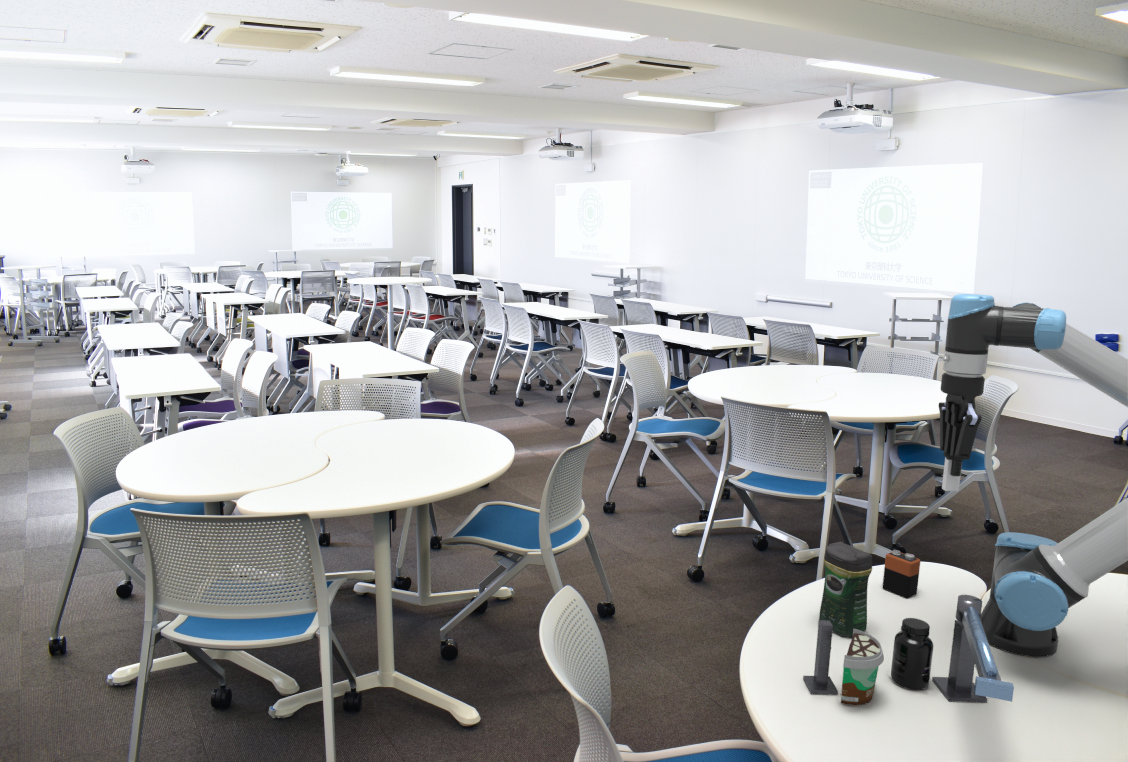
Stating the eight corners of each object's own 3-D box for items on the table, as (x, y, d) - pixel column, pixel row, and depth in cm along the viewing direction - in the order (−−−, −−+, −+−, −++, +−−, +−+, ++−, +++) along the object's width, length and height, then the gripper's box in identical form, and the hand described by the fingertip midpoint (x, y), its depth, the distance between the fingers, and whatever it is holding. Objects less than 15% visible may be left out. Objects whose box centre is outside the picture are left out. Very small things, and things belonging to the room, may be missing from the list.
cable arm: (951, 612, 148) (953, 592, 148) (981, 617, 147) (983, 597, 146) (974, 697, 120) (977, 673, 120) (1011, 704, 119) (1014, 680, 118)
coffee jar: (872, 633, 170) (880, 551, 167) (847, 641, 166) (854, 558, 163) (837, 614, 178) (844, 536, 175) (812, 621, 174) (819, 542, 171)
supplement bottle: (932, 693, 147) (939, 634, 145) (894, 688, 149) (900, 629, 147) (924, 674, 154) (930, 617, 152) (887, 669, 155) (893, 613, 153)
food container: (875, 717, 140) (881, 665, 138) (839, 707, 142) (844, 656, 141) (883, 683, 150) (888, 635, 149) (849, 675, 153) (853, 627, 151)
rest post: (829, 680, 151) (834, 617, 149) (837, 694, 146) (843, 629, 144) (803, 679, 151) (808, 616, 149) (810, 694, 146) (816, 629, 144)
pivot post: (968, 681, 152) (976, 615, 149) (987, 702, 145) (995, 634, 142) (931, 680, 152) (939, 614, 149) (948, 701, 145) (956, 632, 142)
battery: (907, 599, 187) (911, 559, 185) (881, 589, 192) (885, 550, 190) (917, 595, 189) (921, 555, 187) (891, 584, 194) (895, 546, 193)
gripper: (929, 367, 160) (917, 479, 164) (960, 379, 147) (946, 499, 152) (966, 368, 160) (953, 480, 164) (1000, 380, 147) (985, 501, 151)
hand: (950, 489), depth 158 cm, fingers closed
